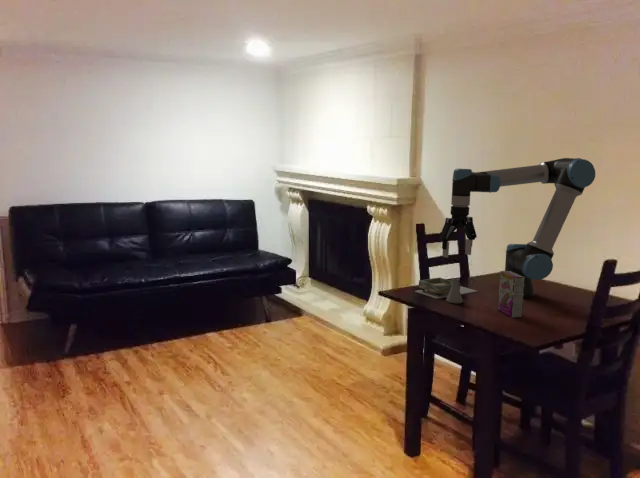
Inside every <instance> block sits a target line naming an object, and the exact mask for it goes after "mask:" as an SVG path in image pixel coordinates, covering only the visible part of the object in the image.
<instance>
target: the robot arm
mask: <svg viewBox="0 0 640 478" xmlns="http://www.w3.org/2000/svg"><path fill="white" fill-rule="evenodd" d="M595 178H596V169H595V166H594V165H593V163H592V162H591V161H589V160H588V159H586V158H585V159H583V158H580V157H577V158H574V157H573V158H571V157H563V158H562V157H561V158H559V159H558V158H557V159H553V160H549V161H542V162H540V163H539V164H536V165H526V166H519V167H518V166H517V167H510V168H509V167H508V168H503V169H502V168H501V169H493V170H485V171H477V172H475V171H473V170H472V168H456V169H454V170H453V173H452V184H451V185H452V186H451V187H452V188H451V190H452V191H451V199H450V200H451V201H450V203H451V206H450V215H451V217H446V218H445V221H444V224H443V227H442V229H441V231H440V234H439V236H438V241H441V242H442V246H441V250H442V252H441V253H442V258H447V259H448V258H449V253H450V251H449V250H450V242H449V240H450V239H451V238H452V236H453V234H454V232H455V231H456V230H458V229H462V231H463V233H464V235H465V237H466V239H465V248H464V249H465V251H464V254H465V255H466V256H467V255H468V256H472V248H473V241H475V240H476V239H477V232H476V228H475V226H474V220H473V219H474V218H473V217H472V216H469V215H470V207H469V206H470V205H471V193H474V192H475V193H490V194H491V193H497V192H499V190H500V188H501V187H509V186H518V185H526V184H534V183H535V184H536V183H541V184H542V185H543V184H544V185H545V184H553V185H554V188H555V191H554V194H553V196H552V198H551V200H550V202H549V204H548V206H547V209H546V211H545V213H544V215H543V217H542V219H541V221H540V223H539V226H538V228H537V230H536V233H535V234H534V237H533V238H532V239H533V240H531V241H528V242H527V243H510V244H507V246H506V250H505V262H504V263H505V265H504V271H511V272H514V273H516V274H518V275H521V276H523V277H525V283H524V297H523V299H524V298H525V299H526V298H531V297H535V288H534V285H533V284H534V283H533V280H535V281H540V280H543V279H546V278H548V276H550V274H551V273H552V271H553V268H554V263H553V260H552V259H553V257H554V255H555V252H554V250H553V249H554V245H555V243H556V242H557V239H558V237H559V235H560V233H561V230H562V228H563V226H564V224H565V222H566V220H567V219H568V218H567V217H568V215H569V213H570V211H571V209H572V207H573V205H574V203H575V200H576V198H577V197H579V196H581V195H583V192H584V191H585V188H587V187H589V186H590V185H592V184H593V183H594V180H595Z"/></svg>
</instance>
